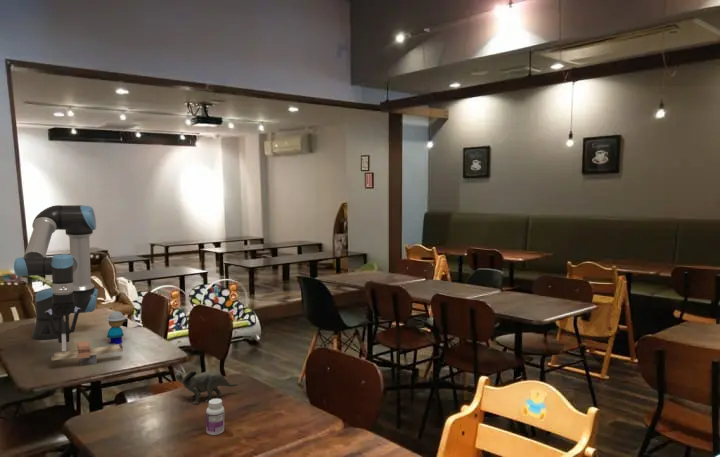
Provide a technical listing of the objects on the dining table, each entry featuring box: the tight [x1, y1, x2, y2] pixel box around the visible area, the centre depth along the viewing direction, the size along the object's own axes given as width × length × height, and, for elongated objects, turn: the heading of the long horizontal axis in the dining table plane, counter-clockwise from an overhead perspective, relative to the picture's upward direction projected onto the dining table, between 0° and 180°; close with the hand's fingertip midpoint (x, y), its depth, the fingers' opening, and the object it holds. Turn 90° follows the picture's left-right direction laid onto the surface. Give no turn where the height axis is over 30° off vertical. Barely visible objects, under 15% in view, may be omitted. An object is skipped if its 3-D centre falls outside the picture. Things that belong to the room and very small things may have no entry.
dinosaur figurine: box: [174, 365, 239, 405], centre depth 180 cm, size 22×8×11 cm, turn 100°
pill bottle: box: [205, 398, 225, 436], centre depth 157 cm, size 5×5×10 cm
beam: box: [50, 343, 124, 367], centre depth 213 cm, size 26×5×6 cm, turn 122°
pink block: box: [77, 340, 91, 360], centre depth 212 cm, size 4×7×5 cm, turn 31°
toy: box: [105, 310, 129, 345], centre depth 243 cm, size 8×9×15 cm
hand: (63, 350), depth 209 cm, fingers closed
